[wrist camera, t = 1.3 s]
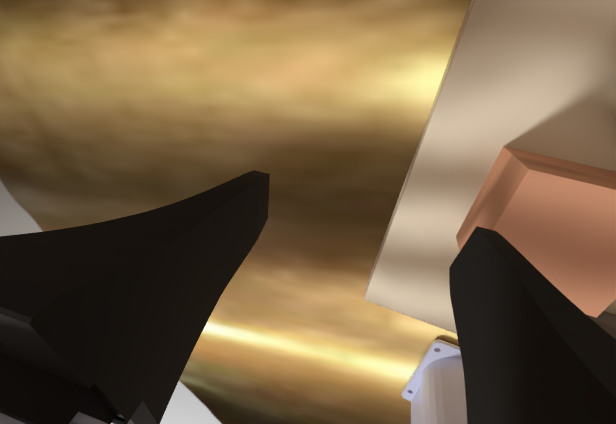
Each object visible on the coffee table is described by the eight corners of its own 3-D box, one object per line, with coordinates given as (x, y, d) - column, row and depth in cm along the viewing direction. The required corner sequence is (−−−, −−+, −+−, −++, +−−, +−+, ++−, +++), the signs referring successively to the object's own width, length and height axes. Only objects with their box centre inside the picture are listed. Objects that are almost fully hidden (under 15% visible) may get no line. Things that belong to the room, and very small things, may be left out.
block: (559, 267, 17) (596, 317, 13) (455, 236, 18) (465, 275, 15) (634, 176, 14) (706, 211, 10) (503, 146, 15) (529, 169, 12)
